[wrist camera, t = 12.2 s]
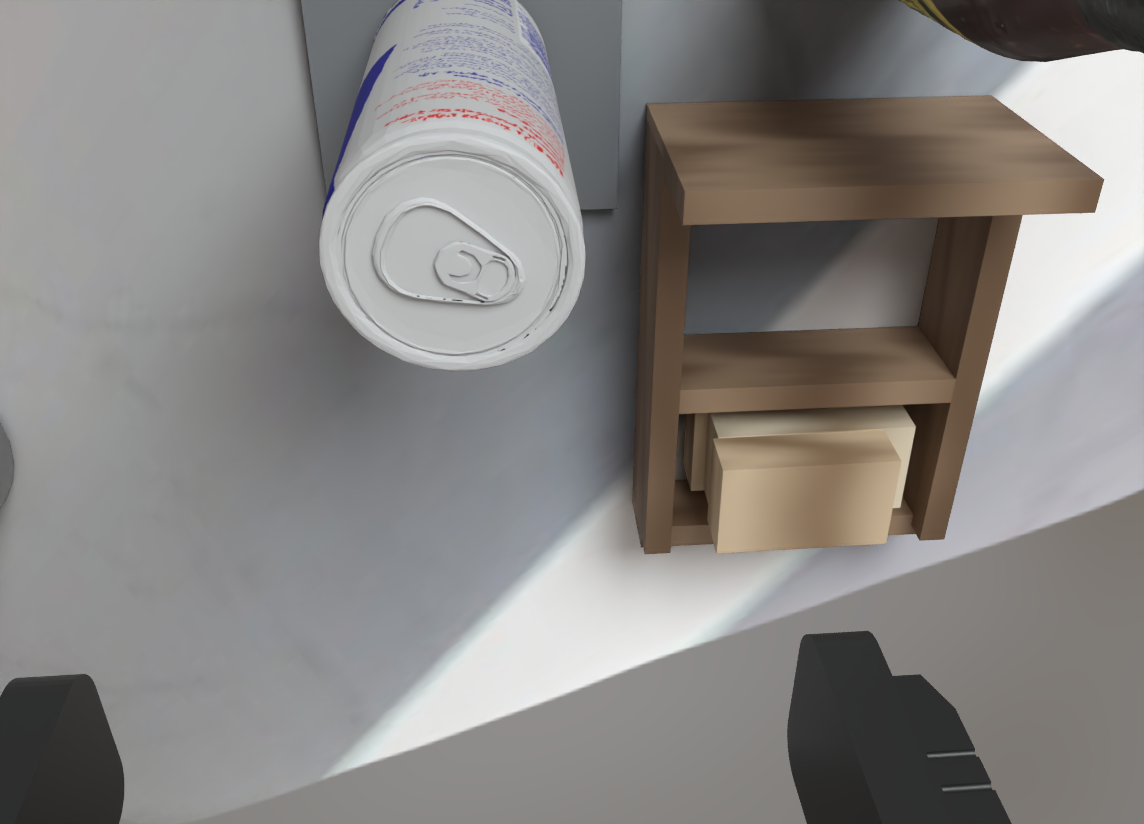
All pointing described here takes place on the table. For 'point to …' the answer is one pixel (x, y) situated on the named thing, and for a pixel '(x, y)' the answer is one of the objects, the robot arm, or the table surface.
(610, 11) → the rubber mat
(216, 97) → the table surface
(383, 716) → the table surface
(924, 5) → the sauce bottle
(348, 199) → the beverage can
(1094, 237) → the table surface
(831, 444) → the offcut stack
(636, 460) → the tray
